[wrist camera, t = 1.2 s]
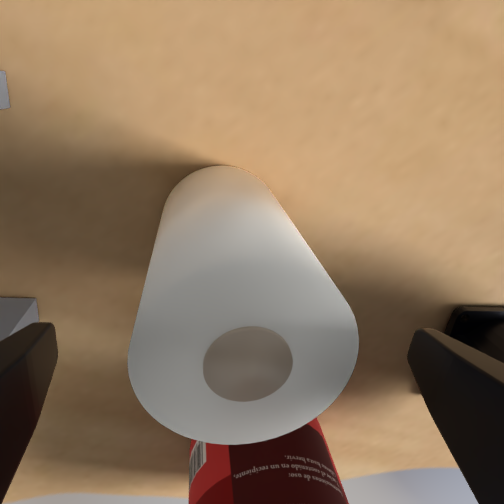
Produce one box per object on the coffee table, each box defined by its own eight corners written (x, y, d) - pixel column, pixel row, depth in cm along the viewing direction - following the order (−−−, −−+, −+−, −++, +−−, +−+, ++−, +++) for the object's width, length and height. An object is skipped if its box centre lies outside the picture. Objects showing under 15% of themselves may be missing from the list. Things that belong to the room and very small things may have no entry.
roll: (287, 170, 16) (386, 267, 8) (271, 278, 18) (336, 445, 10) (162, 159, 15) (123, 255, 7) (160, 274, 17) (128, 454, 9)
